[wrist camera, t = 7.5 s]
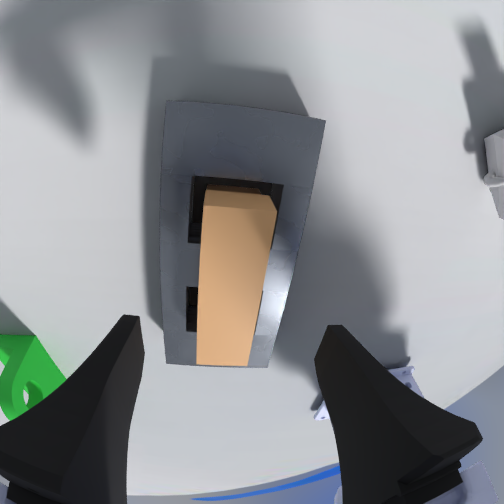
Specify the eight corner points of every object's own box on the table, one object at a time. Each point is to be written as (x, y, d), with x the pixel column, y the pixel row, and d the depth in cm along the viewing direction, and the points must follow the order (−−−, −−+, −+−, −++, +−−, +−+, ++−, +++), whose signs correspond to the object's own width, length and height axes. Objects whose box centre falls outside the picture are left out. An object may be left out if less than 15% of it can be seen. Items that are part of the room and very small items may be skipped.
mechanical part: (-2, 333, 20) (-34, 392, 13) (36, 333, 20) (3, 404, 13) (54, 404, 26) (38, 457, 19) (92, 408, 26) (79, 468, 19)
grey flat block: (310, 117, 14) (325, 120, 12) (262, 342, 22) (267, 367, 19) (175, 100, 13) (166, 100, 11) (169, 338, 21) (166, 363, 18)
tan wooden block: (260, 178, 16) (277, 211, 11) (240, 309, 20) (247, 365, 15) (208, 173, 15) (203, 205, 11) (199, 306, 19) (196, 364, 15)
